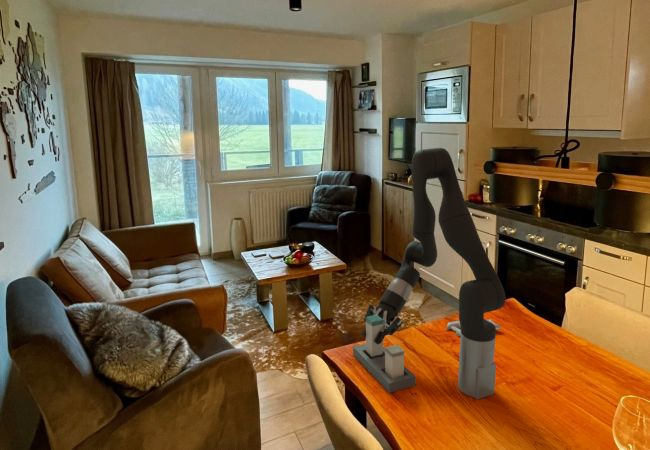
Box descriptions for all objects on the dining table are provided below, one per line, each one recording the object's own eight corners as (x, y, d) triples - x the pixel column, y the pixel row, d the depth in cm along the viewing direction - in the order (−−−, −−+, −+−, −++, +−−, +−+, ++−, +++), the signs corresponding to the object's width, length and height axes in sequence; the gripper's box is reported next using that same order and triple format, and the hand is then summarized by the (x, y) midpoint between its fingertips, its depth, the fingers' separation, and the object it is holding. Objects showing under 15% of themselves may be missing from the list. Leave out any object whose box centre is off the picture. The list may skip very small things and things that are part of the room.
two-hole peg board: (415, 385, 127) (416, 352, 125) (389, 392, 124) (389, 360, 122) (376, 348, 148) (376, 320, 146) (353, 354, 145) (352, 326, 142)
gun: (486, 312, 166) (502, 324, 156) (486, 320, 167) (502, 333, 157) (443, 321, 162) (457, 333, 153) (443, 329, 163) (457, 342, 153)
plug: (382, 353, 139) (383, 319, 136) (371, 356, 137) (371, 322, 135) (376, 348, 143) (376, 314, 140) (365, 350, 141) (365, 317, 138)
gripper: (375, 283, 145) (348, 326, 141) (408, 296, 134) (380, 344, 130) (386, 293, 150) (360, 336, 145) (418, 307, 139) (392, 353, 134)
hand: (370, 339), depth 138 cm, fingers closed on plug, 5 cm apart
